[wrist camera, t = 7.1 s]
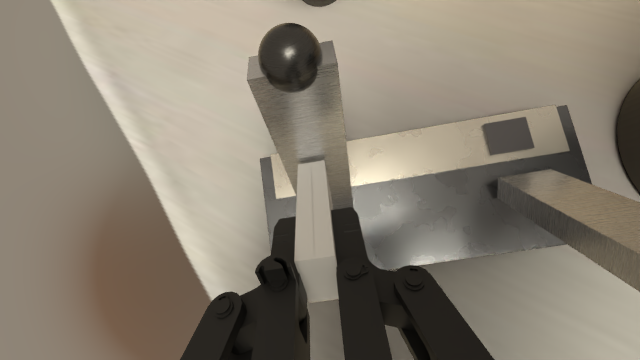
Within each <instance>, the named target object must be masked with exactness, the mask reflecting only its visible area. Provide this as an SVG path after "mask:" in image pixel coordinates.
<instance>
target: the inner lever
mask: <svg viewBox="0 0 640 360" xmlns="http://www.w3.org/2000/svg"><path fill="white" fill-rule="evenodd" d="M497 198H498V199H499V200H501V201H502V202H504V203H505V204H507V205H508V206H510V207H512V208H513V209H515V210H516V211H518V212H519V213H521V214H522V215H524V216H525V217H527V218H528V219H530V220H531V221H533V222H534V223H536V224H537V225H539V226H540V227H542V228H543V229H545V230H546V231H548V232H549V233H551V234H553V235H554V236H556V237H557V238H559V239H560V240H562V241H563V242H565V243H566V244H568V245H569V246H571V247H572V248H574V249H575V250H577V251H578V252H580V253H581V254H583V255H584V256H586V257H587V258H589V259H590V260H592V261H594V262H595V263H597V264H598V265H600V266H601V267H603V268H604V269H606V270H607V271H609V272H610V273H612V274H613V275H615V276H616V277H618V278H619V279H621V280H622V281H624V282H625V283H627V284H628V285H630V286H631V287H633V288H635V289H636V290H638V291H639V292H640V202H637V201H634V200H632V199H629V198H626V197H624V196H621V195H618V194H616V193H613V192H610V191H608V190H605V189H602V188H600V187H597V186H594V185H592V184H589V183H586V182H584V181H581V180H578V179H576V178H573V177H570V176H568V175H565V174H562V173H560V172H557V171H554V170H552V169H548V170H542V171H536V172H530V173H523V174H517V175H511V176H505V177H498V190H497Z"/></svg>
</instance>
